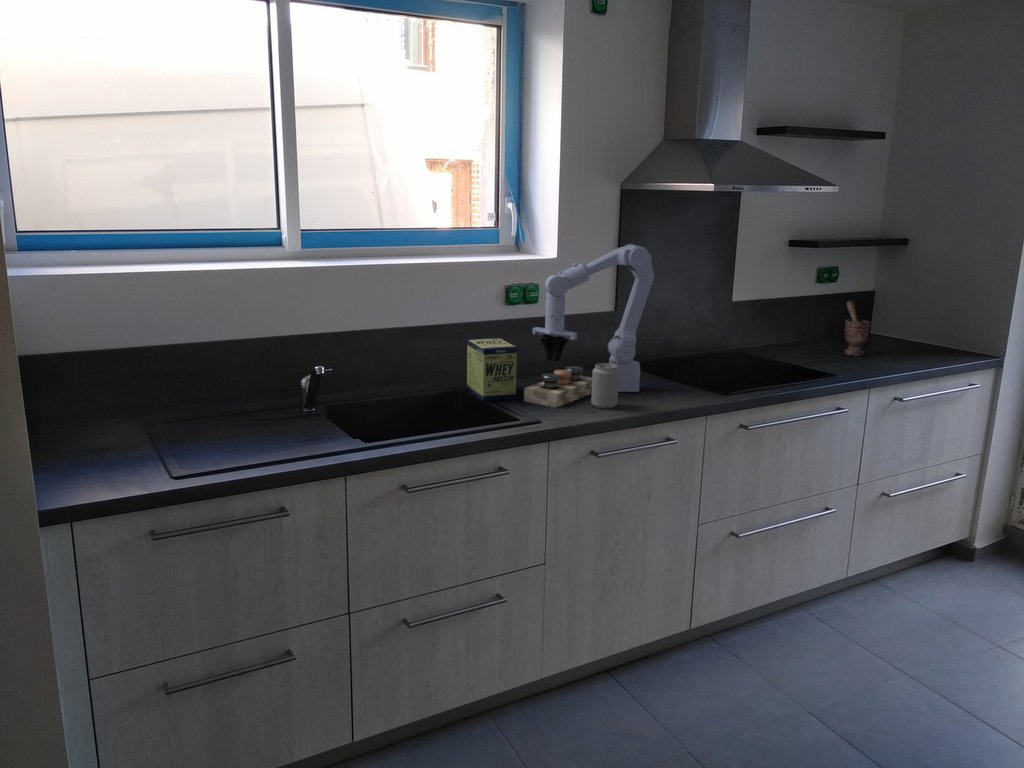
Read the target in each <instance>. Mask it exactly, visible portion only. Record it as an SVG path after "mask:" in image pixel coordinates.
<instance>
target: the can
mask: <svg viewBox="0 0 1024 768" xmlns="http://www.w3.org/2000/svg"><path fill="white" fill-rule="evenodd" d="M591 378H592V394H591V398H590V399H591V401H590V404H592V405H593V407H594V406H595V407H594V408H596V409H601V408H603V409H602V410H604V409H605V410H608V409H610V408H611V409H614V408H615V407H616V406H617V405H618V401H619V392H618V386H619V370H618V369H617V366H616V365H614V364H609V363H607V362H606V363H604V362H602V363H596V364H594V368H593V369H592V377H591Z"/></svg>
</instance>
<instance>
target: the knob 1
mask: <svg viewBox="0 0 1024 768" xmlns="http://www.w3.org/2000/svg"><path fill="white" fill-rule="evenodd" d="M541 380H542V382H544V389H550V390H555V389H558V381H560V375H558V374H554V373H543V374H541Z"/></svg>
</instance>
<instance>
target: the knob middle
mask: <svg viewBox="0 0 1024 768" xmlns="http://www.w3.org/2000/svg"><path fill="white" fill-rule="evenodd" d="M553 374H558V375H560V381H558V385H562V386H567V385H569V377H571V375H572V372H571V371H569V370H565V369H555V370H553Z"/></svg>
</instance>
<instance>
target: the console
mask: <svg viewBox="0 0 1024 768" xmlns="http://www.w3.org/2000/svg"><path fill="white" fill-rule="evenodd" d="M523 390H524V391H523V402H525V403H530V404H536V405H539V404H540V406H544V405H545V407H549V406H550V407H549V408H554V407H555V409H557V408H559V406H560V407H562V406H565V405H567V404H570V403H572V402H575V401H577V400H579V398H580V399H582V397H583V398H585V397H587V395H588V396H590V395H592V377H590V376H584V375H580V381H578V382H573V381H569V385H567V386H562V385H558V389H555V390H550V389H544V381H542V382H538V383H536V384H535V383H534V384H532V385H530V386H527V387H524V388H523ZM584 396H585V397H584ZM574 400H575V401H574ZM569 402H570V403H569ZM564 404H565V405H564ZM561 405H562V406H561ZM556 407H557V408H556Z"/></svg>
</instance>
